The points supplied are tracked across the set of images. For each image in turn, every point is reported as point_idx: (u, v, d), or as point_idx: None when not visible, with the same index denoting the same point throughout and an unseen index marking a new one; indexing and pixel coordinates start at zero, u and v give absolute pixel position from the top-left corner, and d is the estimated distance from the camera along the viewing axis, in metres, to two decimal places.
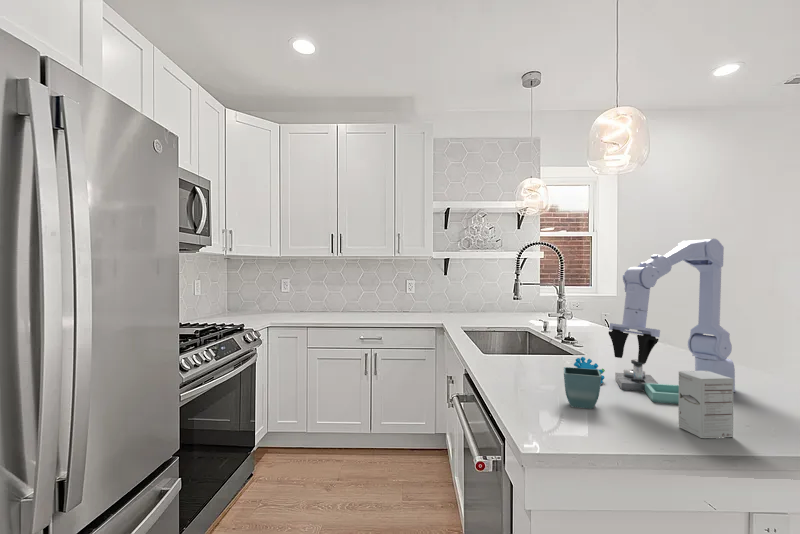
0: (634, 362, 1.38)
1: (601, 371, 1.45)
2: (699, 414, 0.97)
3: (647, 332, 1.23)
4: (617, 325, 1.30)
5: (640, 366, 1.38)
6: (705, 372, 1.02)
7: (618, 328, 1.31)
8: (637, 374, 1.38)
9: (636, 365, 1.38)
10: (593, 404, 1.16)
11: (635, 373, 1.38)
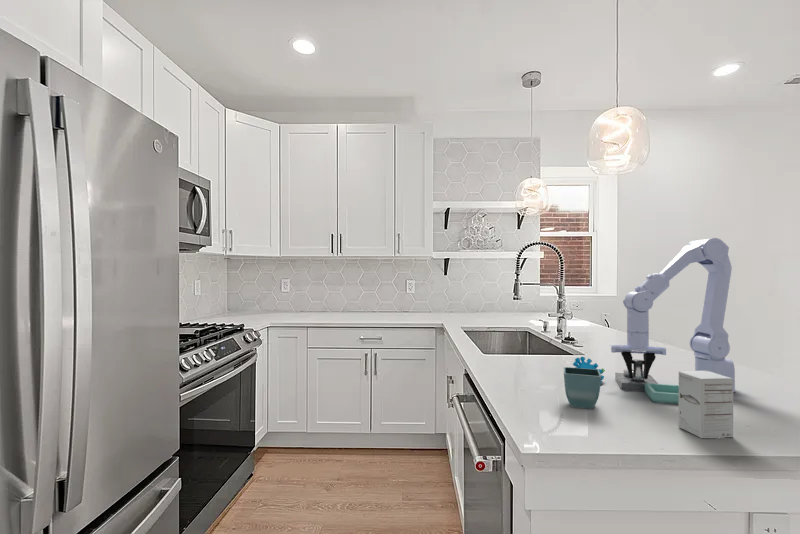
0: (634, 362, 1.38)
1: (601, 371, 1.46)
2: (699, 414, 0.97)
3: (655, 351, 1.37)
4: (625, 348, 1.38)
5: (640, 366, 1.38)
6: (705, 372, 1.02)
7: (620, 350, 1.40)
8: (637, 374, 1.38)
9: (636, 365, 1.38)
10: (593, 404, 1.16)
11: (635, 373, 1.38)
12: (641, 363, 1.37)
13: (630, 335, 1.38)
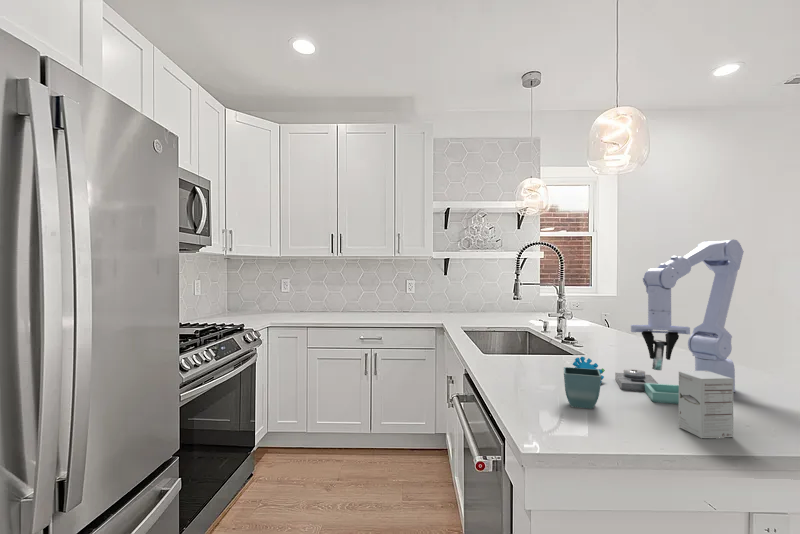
0: (656, 343, 1.31)
1: (601, 371, 1.46)
2: (699, 414, 0.97)
3: (678, 330, 1.30)
4: (646, 327, 1.31)
5: (662, 347, 1.31)
6: (705, 372, 1.02)
7: (641, 329, 1.33)
8: (658, 355, 1.31)
9: (658, 346, 1.31)
10: (593, 404, 1.16)
11: (656, 354, 1.31)
12: (663, 344, 1.30)
13: (651, 314, 1.31)
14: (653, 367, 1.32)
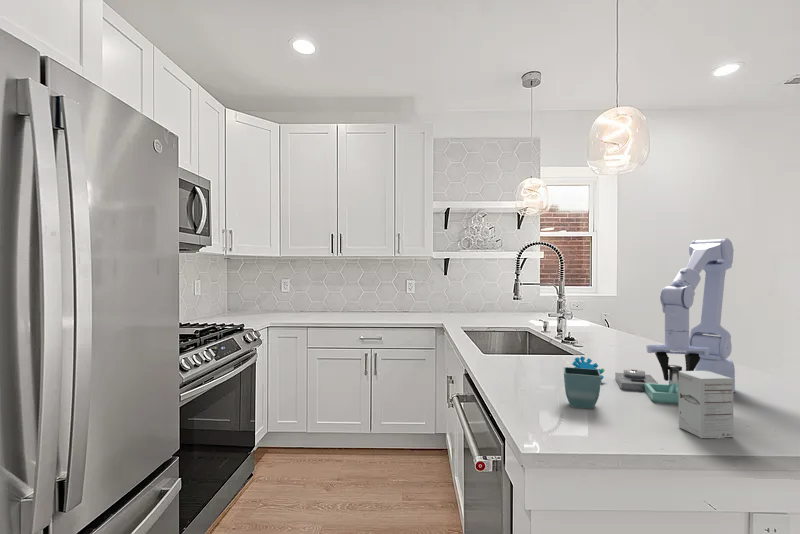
0: (671, 368, 1.26)
1: (600, 371, 1.46)
2: (699, 414, 0.97)
3: (696, 351, 1.25)
4: (663, 348, 1.26)
5: (677, 372, 1.26)
6: (705, 372, 1.02)
7: (658, 350, 1.28)
8: (674, 381, 1.26)
9: (673, 371, 1.26)
10: (593, 404, 1.16)
11: (671, 380, 1.27)
12: (679, 369, 1.26)
13: (669, 334, 1.26)
14: None
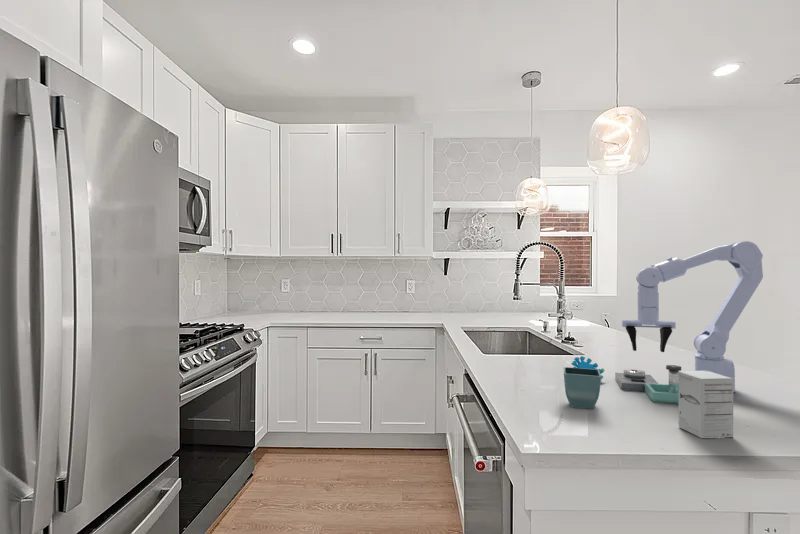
0: (670, 368, 1.26)
1: (600, 371, 1.46)
2: (699, 414, 0.97)
3: (665, 325, 1.42)
4: (636, 322, 1.43)
5: (677, 372, 1.26)
6: (705, 372, 1.02)
7: (631, 324, 1.45)
8: (674, 381, 1.26)
9: (672, 371, 1.27)
10: (593, 404, 1.16)
11: (671, 380, 1.27)
12: (678, 369, 1.26)
13: (641, 310, 1.43)
14: None
